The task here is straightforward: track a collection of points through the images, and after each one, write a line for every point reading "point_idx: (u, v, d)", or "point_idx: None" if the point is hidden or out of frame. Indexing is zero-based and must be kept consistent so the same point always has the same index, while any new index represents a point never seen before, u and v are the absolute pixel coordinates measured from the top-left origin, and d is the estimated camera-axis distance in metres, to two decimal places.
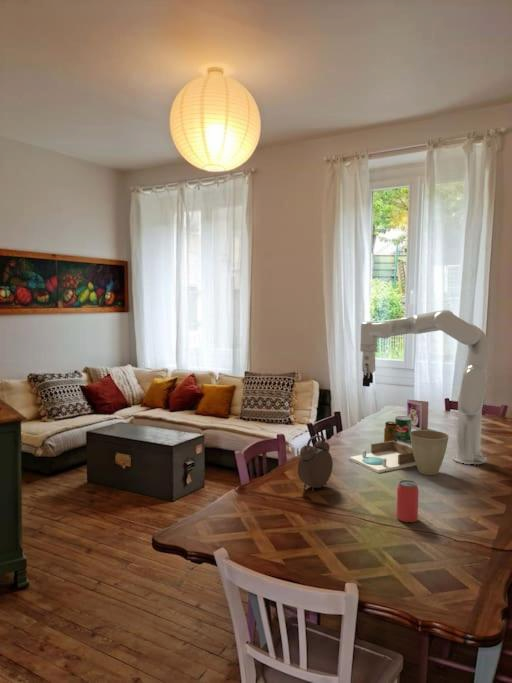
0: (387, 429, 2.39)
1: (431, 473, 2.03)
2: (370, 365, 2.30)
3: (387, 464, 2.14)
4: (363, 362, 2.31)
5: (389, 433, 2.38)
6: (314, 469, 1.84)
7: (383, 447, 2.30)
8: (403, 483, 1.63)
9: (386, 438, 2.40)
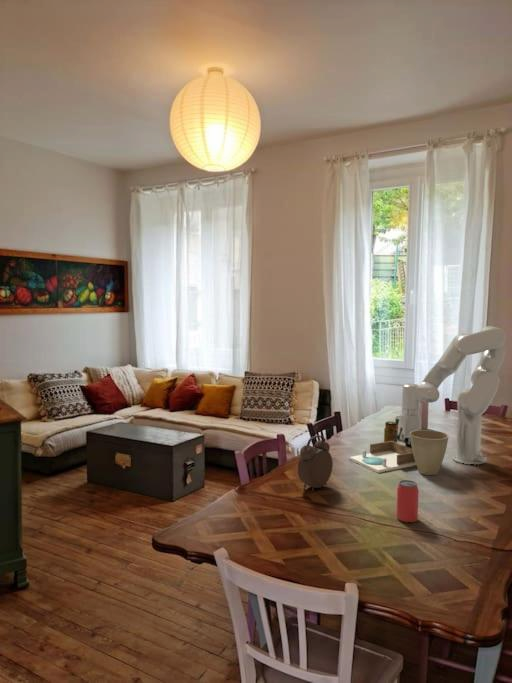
0: (387, 429, 2.39)
1: (431, 473, 2.03)
2: None
3: (387, 464, 2.14)
4: None
5: (389, 433, 2.38)
6: (314, 469, 1.84)
7: (382, 447, 2.29)
8: (403, 483, 1.63)
9: (386, 438, 2.40)
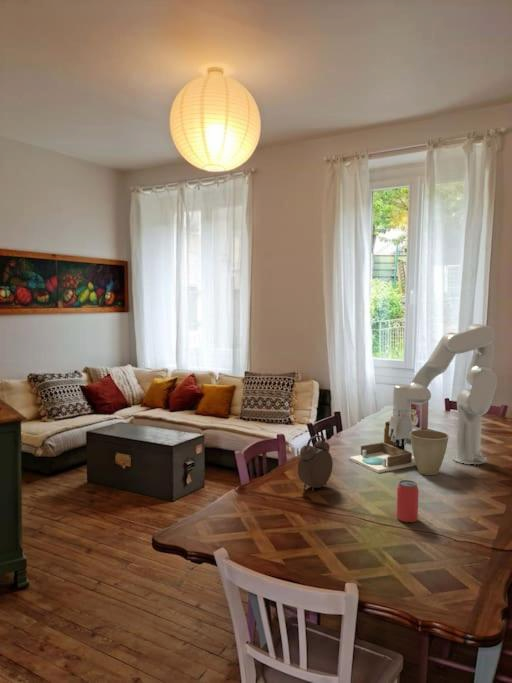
0: (387, 429, 2.39)
1: (431, 473, 2.03)
2: None
3: None
4: None
5: None
6: (314, 469, 1.84)
7: (373, 449, 2.27)
8: (403, 483, 1.63)
9: (386, 438, 2.40)
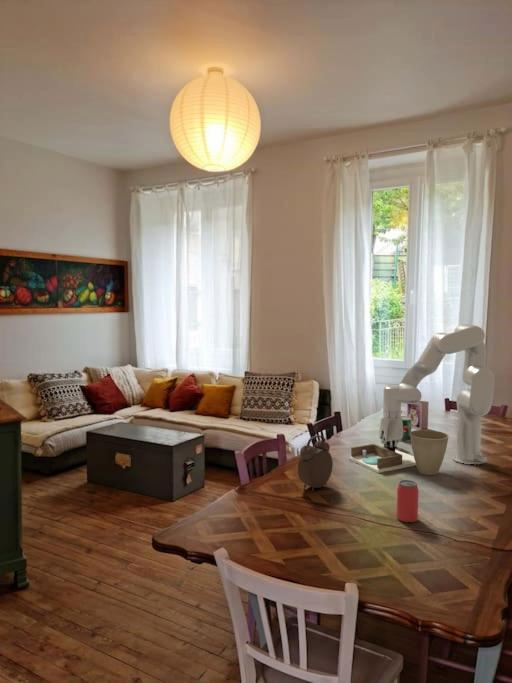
0: None
1: (431, 473, 2.03)
2: None
3: None
4: None
5: None
6: (314, 469, 1.84)
7: None
8: (403, 483, 1.63)
9: None
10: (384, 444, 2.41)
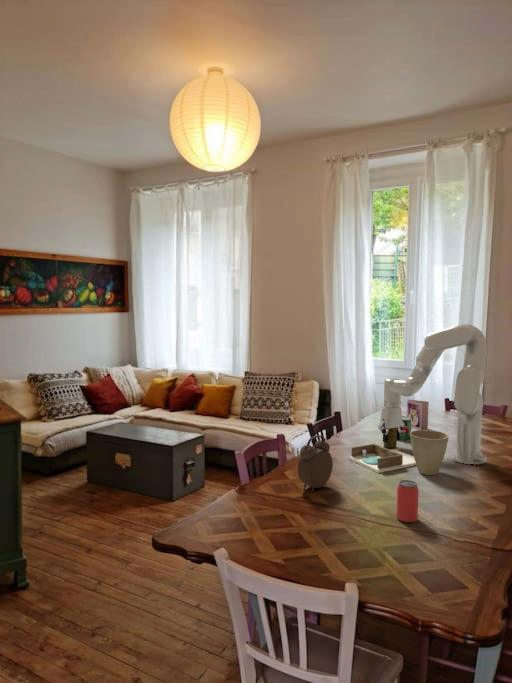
0: None
1: (431, 473, 2.03)
2: None
3: None
4: None
5: (389, 433, 2.38)
6: (314, 469, 1.84)
7: None
8: (403, 483, 1.63)
9: None
10: (384, 444, 2.41)
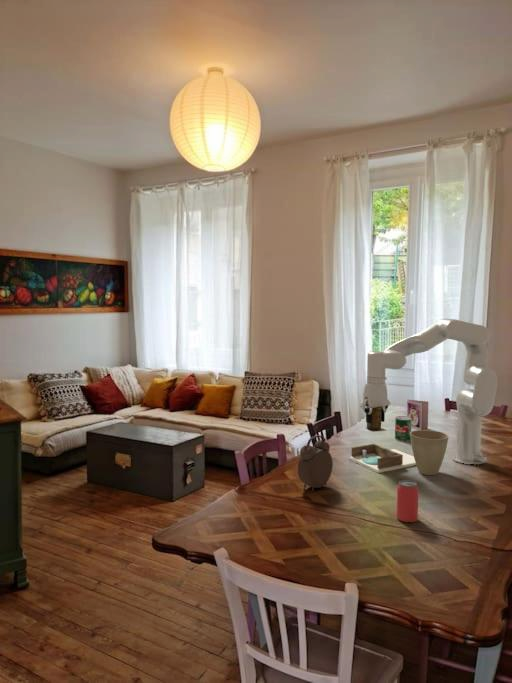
0: None
1: (431, 473, 2.03)
2: None
3: None
4: None
5: (372, 413, 2.13)
6: (314, 469, 1.84)
7: None
8: (403, 483, 1.63)
9: None
10: (367, 425, 2.16)
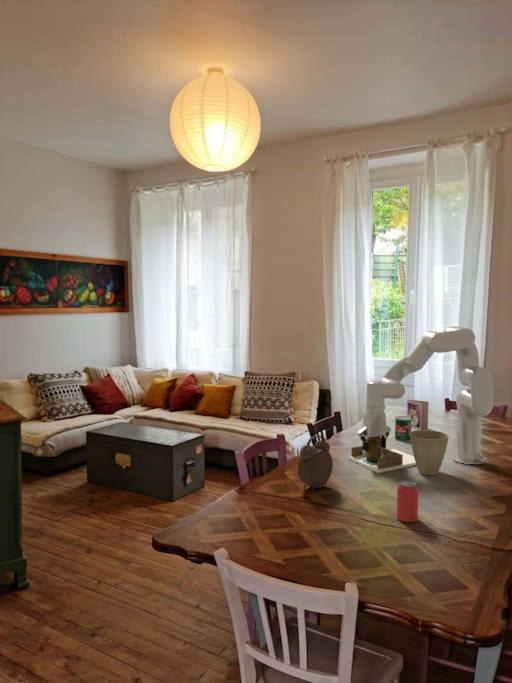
0: (370, 440, 2.15)
1: (431, 473, 2.03)
2: None
3: None
4: None
5: (372, 445, 2.15)
6: (315, 469, 1.84)
7: None
8: (403, 483, 1.63)
9: (369, 450, 2.16)
10: (367, 457, 2.17)
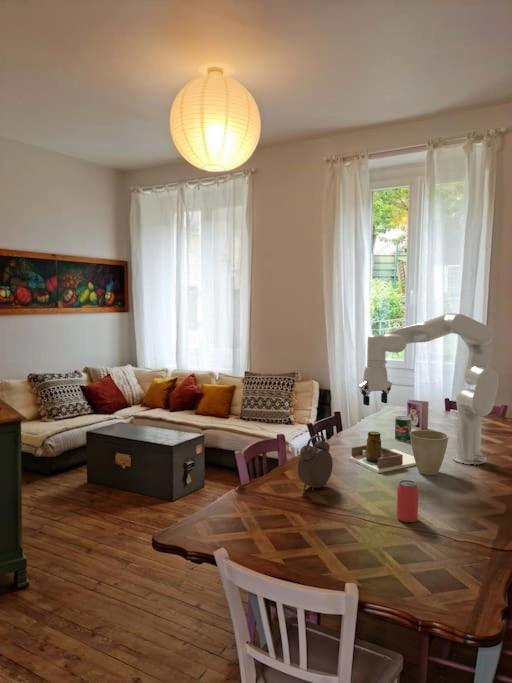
0: (370, 440, 2.15)
1: (431, 473, 2.03)
2: None
3: None
4: None
5: (372, 445, 2.15)
6: (314, 469, 1.84)
7: None
8: (403, 483, 1.63)
9: (369, 450, 2.16)
10: (367, 457, 2.17)
